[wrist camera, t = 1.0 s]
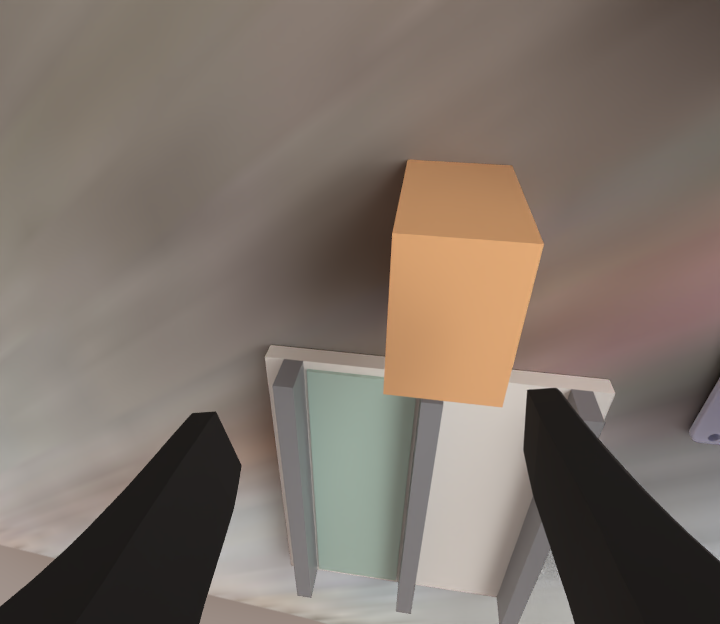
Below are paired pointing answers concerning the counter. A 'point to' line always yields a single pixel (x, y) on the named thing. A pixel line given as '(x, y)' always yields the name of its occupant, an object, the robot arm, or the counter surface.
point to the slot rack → (411, 478)
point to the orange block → (458, 282)
